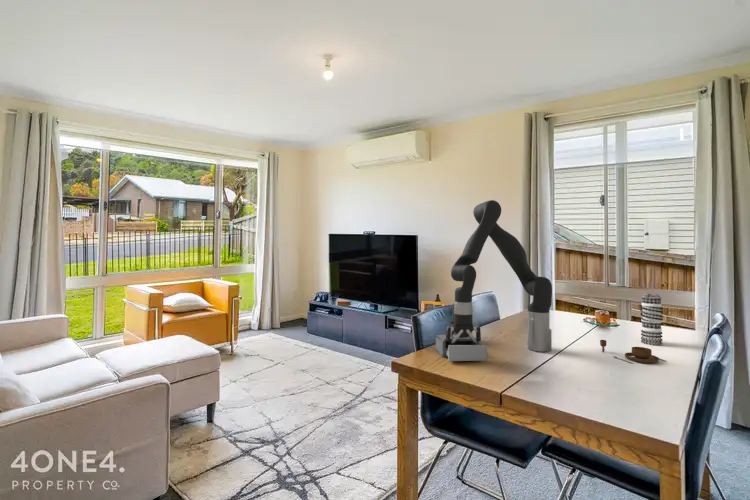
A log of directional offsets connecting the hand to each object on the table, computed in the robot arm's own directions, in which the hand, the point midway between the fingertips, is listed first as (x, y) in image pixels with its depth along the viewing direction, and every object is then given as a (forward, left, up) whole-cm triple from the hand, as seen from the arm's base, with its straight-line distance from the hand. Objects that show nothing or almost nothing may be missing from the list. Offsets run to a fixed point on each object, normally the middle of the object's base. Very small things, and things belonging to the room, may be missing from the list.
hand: (463, 351), depth 161 cm
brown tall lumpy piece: (-8, -30, -3) cm, 31 cm away
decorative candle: (-98, -18, -3) cm, 100 cm away
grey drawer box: (0, -10, -3) cm, 10 cm away
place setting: (-74, 0, -4) cm, 75 cm away
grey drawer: (0, -2, -3) cm, 3 cm away
